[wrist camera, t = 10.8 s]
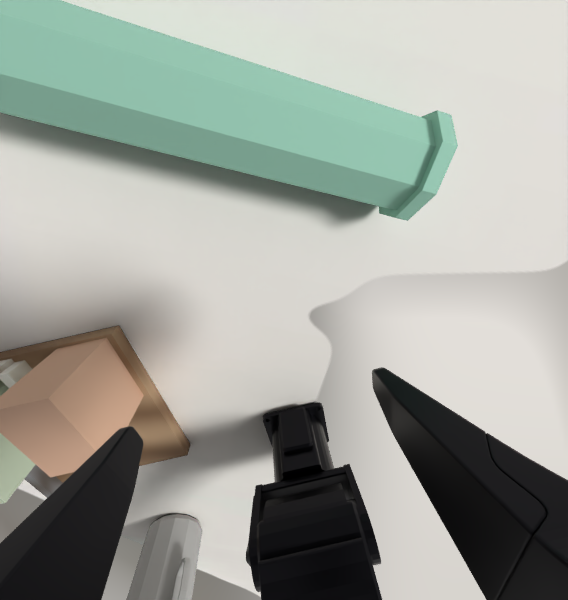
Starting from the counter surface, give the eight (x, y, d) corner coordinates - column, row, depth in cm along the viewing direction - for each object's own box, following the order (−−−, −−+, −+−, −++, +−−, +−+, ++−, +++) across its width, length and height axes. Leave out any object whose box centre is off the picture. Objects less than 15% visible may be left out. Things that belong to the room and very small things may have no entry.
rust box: (106, 337, 19) (48, 398, 14) (143, 395, 22) (107, 464, 17) (54, 349, 19) (-24, 414, 14) (98, 405, 22) (48, 477, 17)
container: (-209, 34, 8) (446, 205, 12) (-190, -155, 8) (469, 85, 12) (-19, 139, 14) (381, 231, 18) (-5, 33, 14) (396, 150, 18)
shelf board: (190, 444, 27) (183, 469, 25) (62, 473, 27) (43, 501, 25) (118, 325, 20) (100, 345, 18) (-54, 364, 20) (-97, 389, 18)
